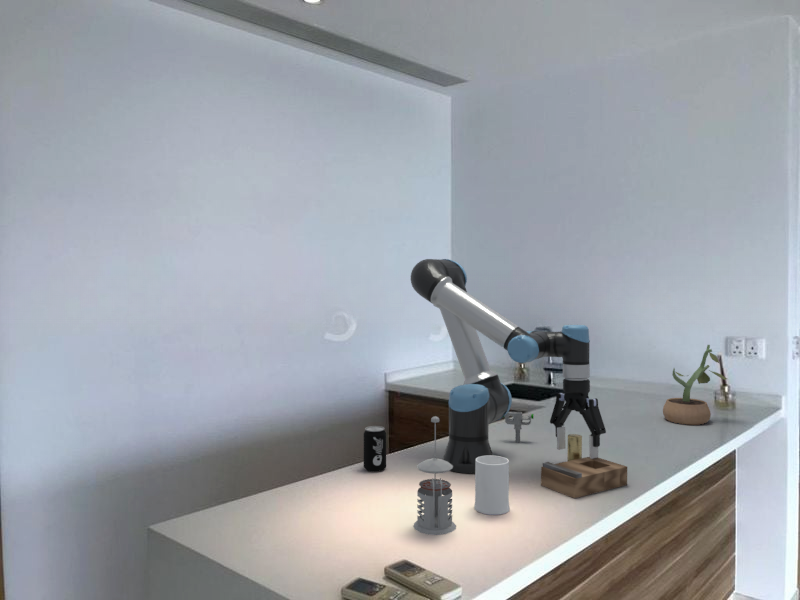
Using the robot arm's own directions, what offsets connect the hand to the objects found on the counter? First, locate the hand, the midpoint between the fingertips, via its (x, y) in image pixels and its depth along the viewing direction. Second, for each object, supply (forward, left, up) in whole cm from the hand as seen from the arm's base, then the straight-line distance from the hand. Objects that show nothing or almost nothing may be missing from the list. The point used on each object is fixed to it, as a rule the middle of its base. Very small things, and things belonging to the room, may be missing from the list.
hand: (577, 453), depth 188 cm
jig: (-8, -10, -5) cm, 14 cm away
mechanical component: (+7, +33, -5) cm, 34 cm away
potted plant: (+85, +20, -5) cm, 87 cm away
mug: (-39, -10, -5) cm, 41 cm away
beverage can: (-49, +32, -5) cm, 59 cm away
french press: (-59, -13, -5) cm, 61 cm away
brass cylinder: (0, +1, -5) cm, 5 cm away
